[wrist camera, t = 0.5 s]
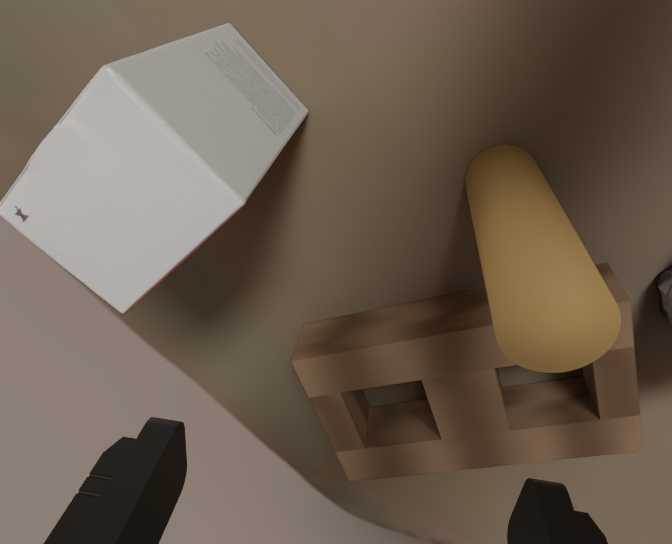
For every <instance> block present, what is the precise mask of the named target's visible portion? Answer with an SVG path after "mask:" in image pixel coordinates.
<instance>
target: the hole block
mask: <svg viewBox="0 0 672 544" xmlns="http://www.w3.org/2000/svg"><path fill="white" fill-rule="evenodd" d="M595 266H596V268H597V270H598V271H599V273H600V275H601V277H602V278H603V280H604V282H605V284H606V285H607V287H608V289H609V291H610V292H611V294H612V296H613V298H614V299H615V301H616V303H617V305H618V307H619V310H620V314H621V327H620V331H619V334H618V337H617V339H616V340H615V342H614V344H613V345H612V346H611V348H610V349H609V350H608V351H607V352H606V353H605V354H604V355H602V356H601V357H600V358H599V359H597V360H595V361H594V362H592V363H590V364H588V365H586V366H584V367H582V371H583V376H581V377H574V378H567V379H560V380H554V381H547V382H540V383H533V384H526V385H519V386H512V387H506V388H501V383H500V379H499V375H498V371H497V368H501V367H507V366H513V365H517V364H515V363H514V362H512V361H511V360H510V359H508V358H507V357H506V356H505V355H504V353H503V352H502V351H501V349H500V347H499V345H498V343H497V340H496V336H495V331H494V326H493V321H492V316H491V311H490V306H489V301H488V296H487V291H486V288H481V289H476V290H471V291H466V292H461V293H456V294H451V295H446V296H441V297H436V298H431V299H426V300H421V301H416V302H411V303H406V304H401V305H396V306H391V307H386V308H381V309H376V310H372V311H367V312H362V313H357V314H352V315H347V316H342V317H337V318H332V319H327V320H322V321H317V322H312V323H307V324H303V326H302V329H301V332H300V335H299V338H298V341H297V345H296V348H295V351H294V354H293V357H292V360H291V362H292V364H293V366H294V368H295V371H296V373H297V375H298V377H299V379H300V381H301V383H302V385H303V387H304V389H305V391H306V393H307V395H308V397H309V399H310V401H311V403H312V405H313V408H314V410H315V412H316V414H317V416H318V418H319V420H320V422H321V424H322V426H323V428H324V430H325V432H326V434H327V436H328V438H329V440H330V443H331V445H332V447H333V449H334V451H335V453H336V455H337V457H338V459H339V461H340V463H341V465H342V467H343V469H344V471H345V473H346V475H347V478H348V480H349V481H359V480H368V479H378V478H387V477H397V476H407V475H416V474H426V473H435V472H445V471H455V470H464V469H474V468H483V467H493V466H503V465H512V464H522V463H531V462H541V461H551V460H560V459H570V458H579V457H589V456H599V455H608V454H618V453H627V452H637V451H643V444H642V432H641V420H640V409H639V397H638V385H637V373H636V361H635V349H634V337H633V325H632V313H631V301H630V299H629V297H628V295H627V294H626V292H625V291H624V289H623V287H622V286H621V284H620V283H619V281H618V279H617V278H616V276H615V274H614V273H613V271H612V270H611V268H610V266H609V265H608V263H605V264H600V265H595ZM418 380H422V383H423V386H424V389H425V392H426V395H427V398H428V399H423V400H416V401H410V402H403V403H396V404H389V405H382V406H375V407H369V405H368V402H367V400H366V398H365V395H364V393H363V390H362V389H367V388H373V387H380V386H386V385H392V384H399V383H405V382H412V381H418Z"/></svg>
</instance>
